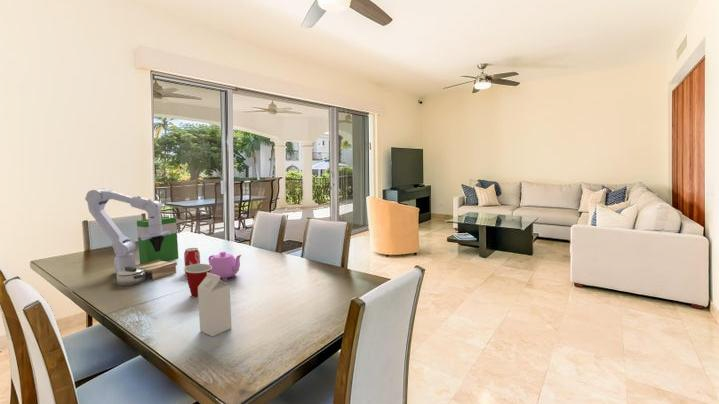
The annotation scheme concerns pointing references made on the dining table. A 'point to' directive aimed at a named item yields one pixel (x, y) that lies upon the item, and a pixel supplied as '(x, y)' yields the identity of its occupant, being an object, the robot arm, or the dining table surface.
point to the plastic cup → (196, 276)
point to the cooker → (131, 279)
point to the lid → (130, 271)
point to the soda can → (191, 256)
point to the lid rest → (159, 268)
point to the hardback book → (168, 245)
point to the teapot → (224, 265)
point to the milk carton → (214, 305)
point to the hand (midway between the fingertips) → (157, 251)
